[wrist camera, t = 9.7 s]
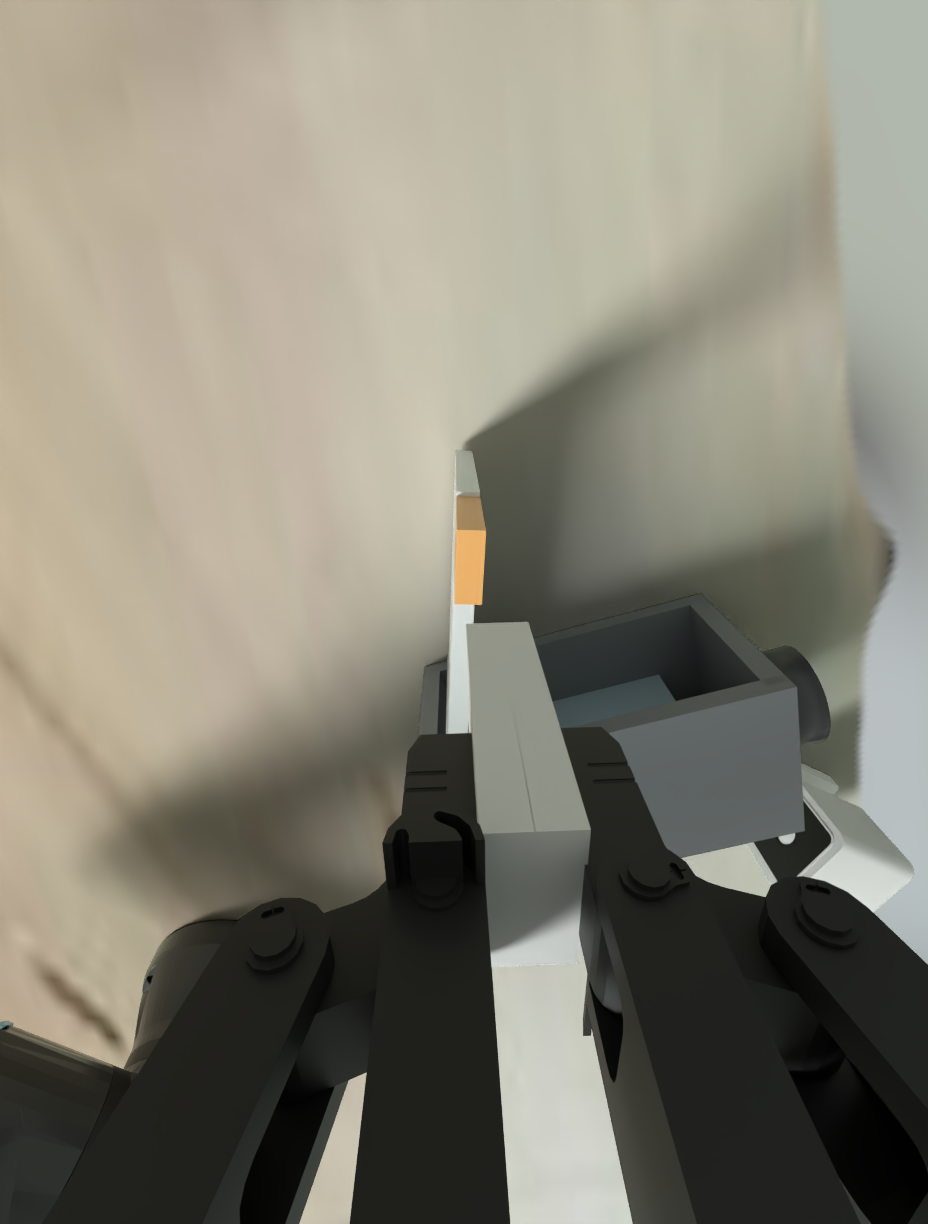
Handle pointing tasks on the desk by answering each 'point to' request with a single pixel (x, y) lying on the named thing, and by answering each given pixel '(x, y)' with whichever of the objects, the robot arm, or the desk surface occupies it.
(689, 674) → the camera body
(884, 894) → the security camera
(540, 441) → the desk surface
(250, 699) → the desk surface
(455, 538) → the hinged cabinet door
